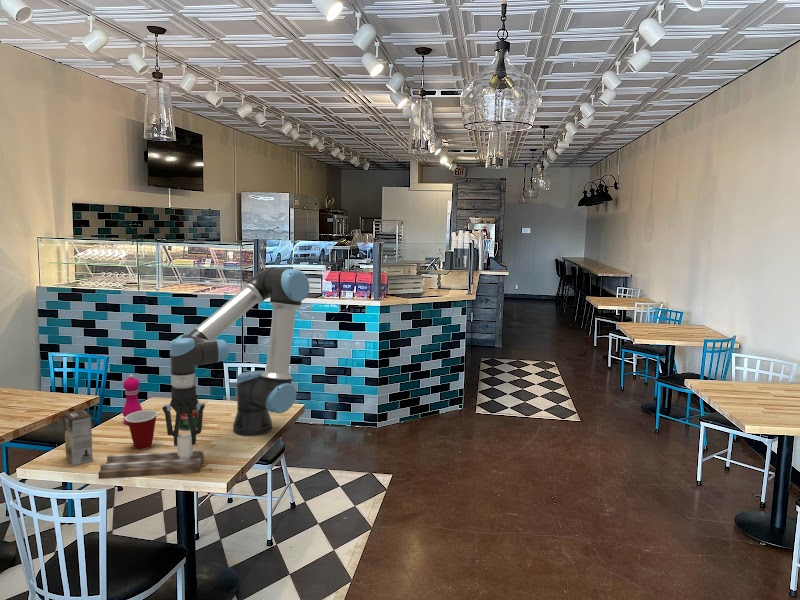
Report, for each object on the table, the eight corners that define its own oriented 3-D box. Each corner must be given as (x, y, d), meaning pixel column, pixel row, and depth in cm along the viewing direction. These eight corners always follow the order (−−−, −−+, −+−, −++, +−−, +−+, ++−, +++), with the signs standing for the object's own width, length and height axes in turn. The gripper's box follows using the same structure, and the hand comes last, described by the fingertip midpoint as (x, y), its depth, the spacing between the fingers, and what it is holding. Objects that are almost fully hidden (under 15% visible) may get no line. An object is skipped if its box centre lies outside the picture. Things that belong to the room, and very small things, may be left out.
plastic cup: (119, 448, 204) (117, 416, 203) (145, 439, 214) (144, 408, 212) (139, 454, 199) (138, 421, 198) (165, 444, 209) (164, 413, 207)
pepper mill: (135, 426, 228) (133, 377, 225) (119, 424, 229) (117, 375, 226) (146, 420, 235) (144, 372, 232) (130, 418, 236) (128, 371, 234)
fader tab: (191, 456, 193) (190, 433, 192) (189, 461, 189) (188, 438, 188) (181, 457, 192) (181, 434, 191) (179, 461, 188) (179, 438, 187)
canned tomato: (194, 422, 233) (193, 396, 232) (203, 427, 228) (202, 400, 226) (174, 426, 228) (174, 400, 226) (183, 432, 222) (182, 404, 221)
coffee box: (65, 458, 195) (62, 412, 193) (85, 453, 200) (83, 408, 198) (72, 466, 189) (70, 419, 187) (94, 461, 193) (91, 415, 191)
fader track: (203, 458, 197) (203, 448, 197) (198, 472, 186) (198, 462, 185) (110, 463, 192) (109, 453, 191) (98, 478, 180) (98, 467, 179)
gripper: (155, 389, 182) (157, 460, 185) (207, 387, 185) (209, 457, 188) (160, 383, 189) (162, 451, 192) (210, 381, 193) (212, 448, 195)
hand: (185, 454), depth 190 cm, fingers closed on fader tab, 3 cm apart
